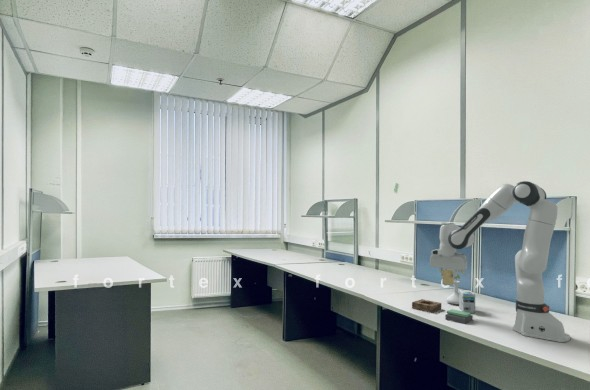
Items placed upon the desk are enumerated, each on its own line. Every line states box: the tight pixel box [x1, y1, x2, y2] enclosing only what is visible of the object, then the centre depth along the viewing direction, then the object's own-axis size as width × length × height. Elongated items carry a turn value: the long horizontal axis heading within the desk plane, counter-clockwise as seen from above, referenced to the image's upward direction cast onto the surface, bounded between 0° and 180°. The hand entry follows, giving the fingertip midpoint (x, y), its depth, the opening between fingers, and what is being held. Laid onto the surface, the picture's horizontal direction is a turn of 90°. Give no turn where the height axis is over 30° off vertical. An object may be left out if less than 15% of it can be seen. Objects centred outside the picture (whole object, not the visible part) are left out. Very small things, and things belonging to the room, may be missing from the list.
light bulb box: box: [458, 289, 476, 314], centre depth 215 cm, size 11×7×11 cm, turn 168°
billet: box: [441, 268, 455, 286], centre depth 210 cm, size 4×4×8 cm
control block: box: [445, 313, 474, 325], centre depth 196 cm, size 10×10×2 cm
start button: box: [446, 308, 472, 317], centre depth 196 cm, size 10×6×3 cm, turn 44°
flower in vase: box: [445, 270, 466, 306], centre depth 232 cm, size 13×11×25 cm
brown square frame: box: [411, 298, 442, 313], centre depth 217 cm, size 12×12×4 cm
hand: (448, 276), depth 210 cm, fingers closed on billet, 4 cm apart
